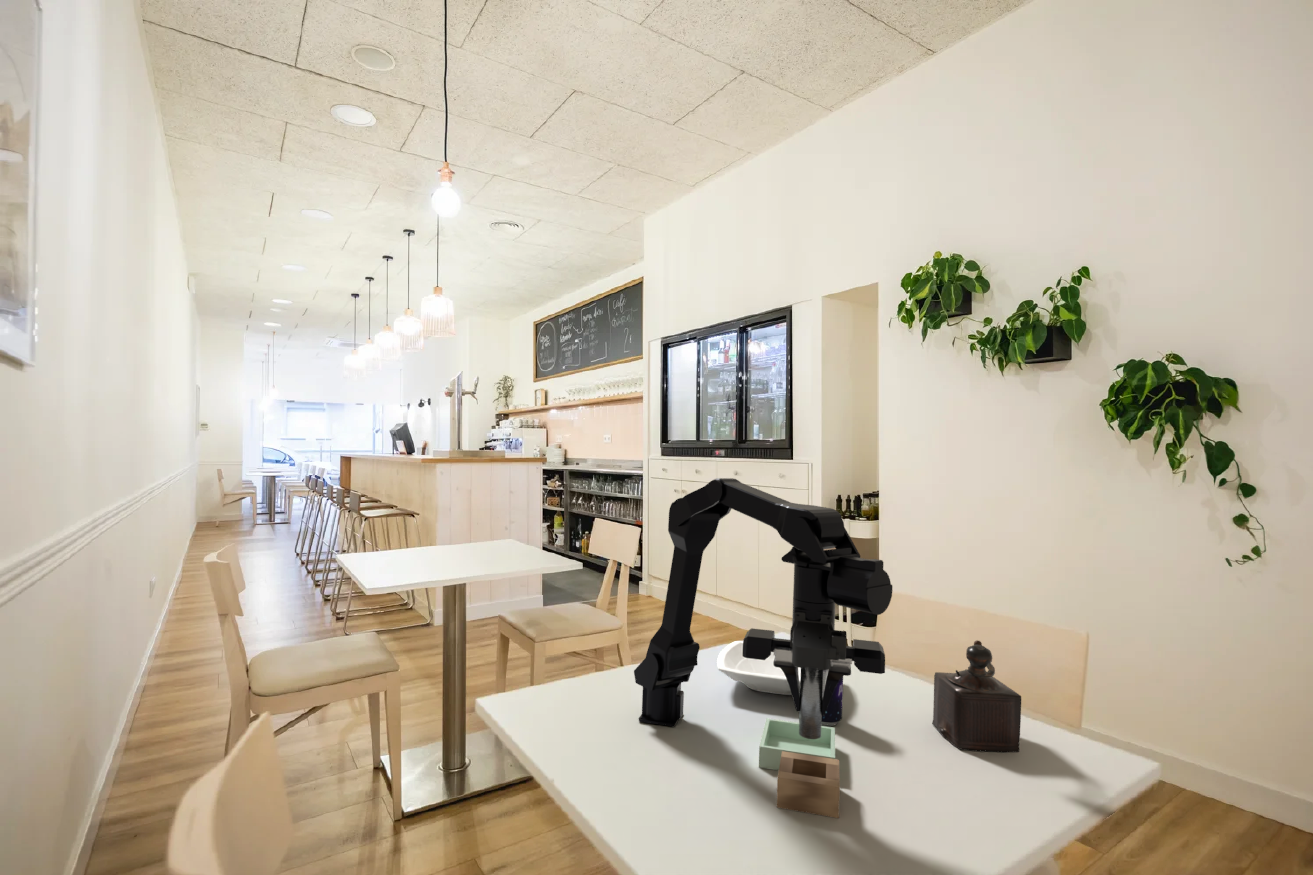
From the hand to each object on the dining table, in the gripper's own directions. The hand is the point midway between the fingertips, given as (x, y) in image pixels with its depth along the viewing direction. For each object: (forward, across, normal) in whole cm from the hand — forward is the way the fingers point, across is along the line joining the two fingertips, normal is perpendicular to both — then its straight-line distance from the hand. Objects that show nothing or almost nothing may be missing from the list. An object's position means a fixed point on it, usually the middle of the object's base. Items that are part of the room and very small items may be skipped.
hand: (810, 712), depth 90 cm
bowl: (+12, -8, +42) cm, 44 cm away
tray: (+12, -2, +12) cm, 17 cm away
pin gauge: (+3, 0, 0) cm, 3 cm away
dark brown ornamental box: (+12, +27, +27) cm, 40 cm away
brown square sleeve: (+12, 0, 0) cm, 12 cm away
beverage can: (+12, +2, +28) cm, 30 cm away
